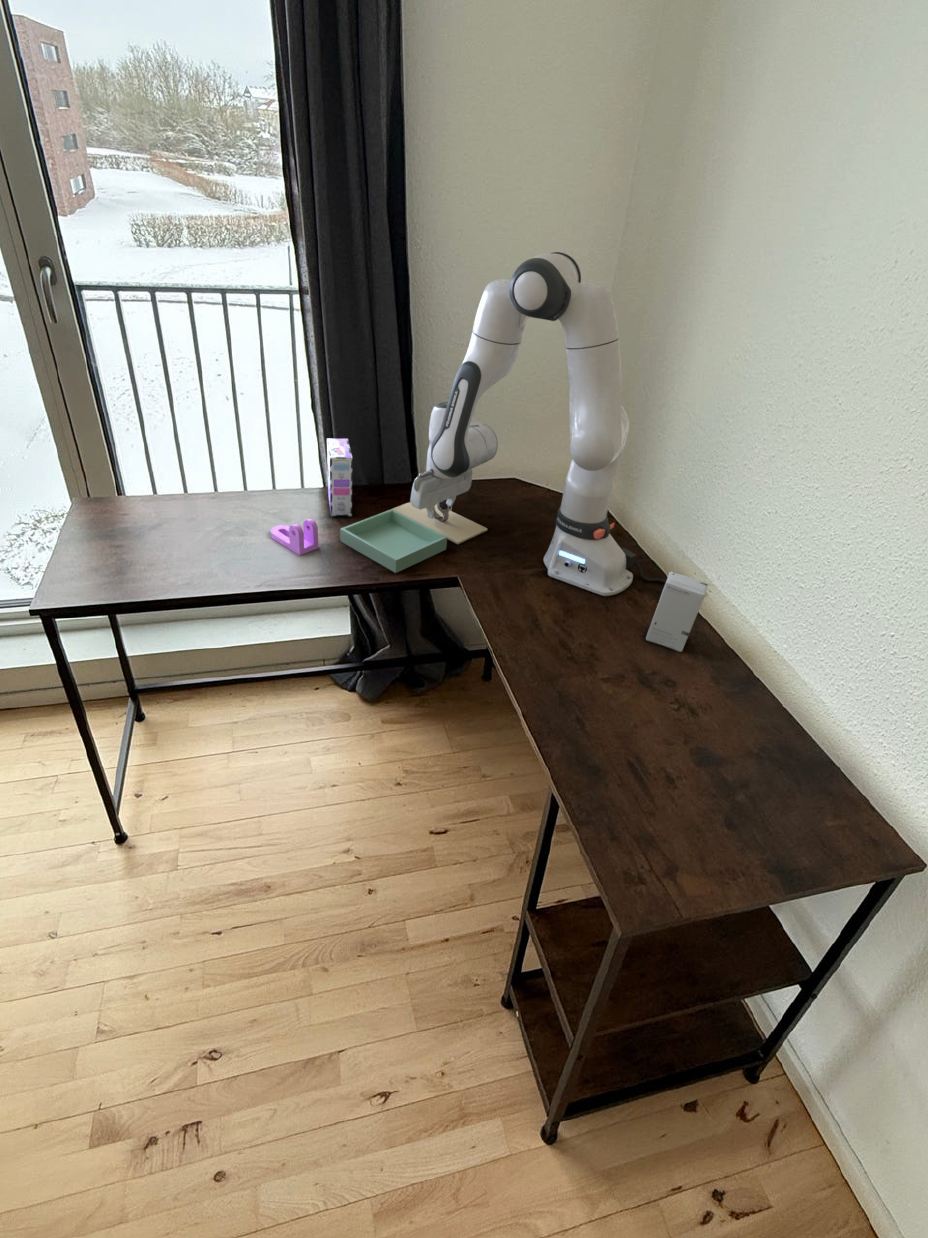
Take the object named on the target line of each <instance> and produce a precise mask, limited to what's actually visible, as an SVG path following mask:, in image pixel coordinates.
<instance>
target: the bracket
mask: <svg viewBox="0 0 928 1238" xmlns="http://www.w3.org/2000/svg"><path fill="white" fill-rule="evenodd" d="M302 525H303V526H301V525H300V524H299V523H294V524H292V525H287V524H279V525H276V526H273V527H272V528H270V537H271V539H273V540H274V541H276V542H278V543H279V544H281V545H282V546H284V547H286V548H287V549H288V550H290V551H292V552H294V553H295V554H297V555H298V556H302V555H304V554H307V553H309V552H312V551H314V550H317V549H319V525H318V524H317V522H316V521H315V519H313V518H309V519H305V520H304V521H303V523H302ZM302 527H303V528H302Z"/></svg>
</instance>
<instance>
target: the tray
mask: <svg viewBox="0 0 928 1238" xmlns="http://www.w3.org/2000/svg"><path fill="white" fill-rule="evenodd" d="M339 537H340V539H339V541H340V542H341V543H342V544H345V545H346V546H348V547H349V548H351V549H353V550H355V551H356V552H358V553H360V554H362V555H363V556H365V557H367V558H368V559H370V560H372V561H374V562H375V563H377V564H379V565H381V566H383V567H384V568H386V569H388V570H390V571H391V572H393V573H394V574H397V573H399V572H401V571H403V570H405V569H407V568H410V567H413V566H414V565H416V564H418V563H421V562H423V561H424V560H427V559H429V558H431V557H434V556H436V555H437V554H440V553H442V552H443V551H446V550H447V545H448V539H447V537H446V536H444V535H442V534H440V533H438V532H436V531H434V530H432V529H430V528H428V527H426V526H424V525H422V524H420V523H418V522H417V521H415V520H413V519H411V518H409V517H407V516H405V515H403V514H401V513H399V512H397V511H395V510H393V508H391V509H388V510H386V511H383V512H380V513H378V514H375V515H372V516H370V517H367V518H364V519H362V520H359V521H357V522H354V523H351V524H348V525H346V526H343V527H341V528H340V530H339Z"/></svg>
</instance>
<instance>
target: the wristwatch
mask: <svg viewBox="0 0 928 1238" xmlns="http://www.w3.org/2000/svg"><path fill="white" fill-rule="evenodd" d="M435 505H436V504H434V508H433V510H434V511H435ZM437 508H438V510H439V511H441V512H442V514H443V516H444V519H443V517H441V516H440V515H439V514H438V513H437V512H436V517H435V519H437V520H439V521H440V522H444V521H446V520H448V517H449V507H448V505H447V504H446V502H445V501H442V502H439V503H437Z"/></svg>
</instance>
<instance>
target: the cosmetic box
mask: <svg viewBox="0 0 928 1238" xmlns="http://www.w3.org/2000/svg"><path fill="white" fill-rule="evenodd" d="M667 575H668V576H667V578H666V583H665V584H664V586H663V589H662V591H661V594H660V597H659V600H658V603H657V606H656V609H655V612H654V614H653V617H652V620H651V622H650V625H649V628H648V630H647V633H646V637H645V641H647V642H649V643H653V644H657V645H659V646H663V647H666V648H669V649H672V650H675V651H676V652H680V653H682V652H683V651H684V647H685V645H686V643H687V640H688V638H689V635H690V634H691V630H692V629H693V626H694V623H695V621H696V619H697V616H698V614H699V611H700V609H701V606H702V604H703V601H704V600H705V596H706V592H707V589H708V586H709V583H708V582H705V581H701V580H698V579H695V578H694V577H691V576H688V575H683V574H680V573H677V572H674V571H669V573H668V574H667Z"/></svg>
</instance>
